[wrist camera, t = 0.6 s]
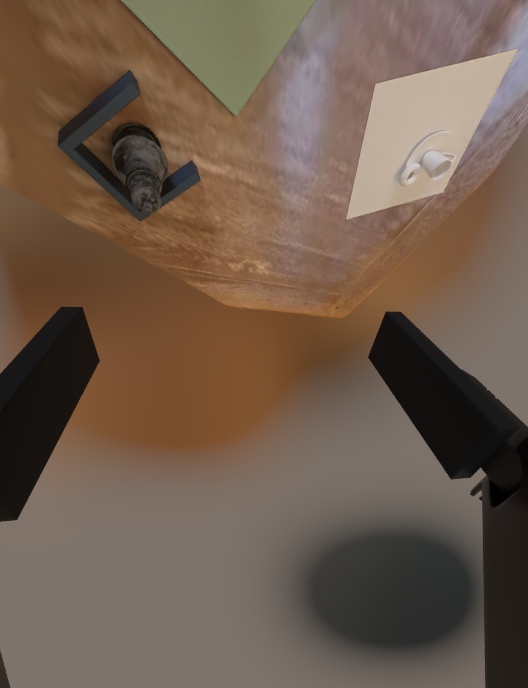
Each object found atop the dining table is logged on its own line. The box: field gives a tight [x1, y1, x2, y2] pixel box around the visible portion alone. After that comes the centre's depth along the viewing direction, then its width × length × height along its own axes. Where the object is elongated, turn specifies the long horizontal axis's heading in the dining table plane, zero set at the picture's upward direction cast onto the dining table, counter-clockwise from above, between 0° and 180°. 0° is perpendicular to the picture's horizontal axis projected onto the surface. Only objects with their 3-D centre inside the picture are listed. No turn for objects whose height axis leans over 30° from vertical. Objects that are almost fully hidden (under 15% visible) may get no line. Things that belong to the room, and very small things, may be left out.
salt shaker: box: [111, 123, 168, 214], centre depth 31 cm, size 6×6×12 cm
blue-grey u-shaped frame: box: [58, 71, 201, 221], centre depth 33 cm, size 11×10×3 cm
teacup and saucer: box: [399, 130, 457, 188], centre depth 45 cm, size 9×8×4 cm
